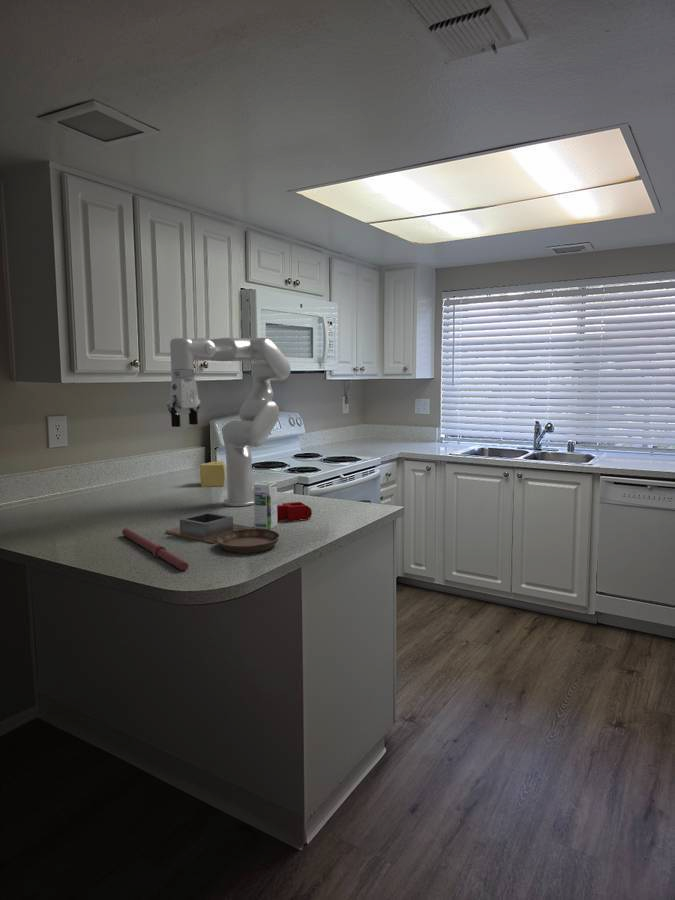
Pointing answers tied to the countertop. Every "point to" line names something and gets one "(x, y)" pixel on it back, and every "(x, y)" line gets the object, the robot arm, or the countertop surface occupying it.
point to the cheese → (212, 474)
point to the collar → (206, 527)
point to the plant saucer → (248, 540)
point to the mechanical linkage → (293, 511)
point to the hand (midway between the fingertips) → (185, 425)
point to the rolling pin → (156, 549)
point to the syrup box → (265, 505)
